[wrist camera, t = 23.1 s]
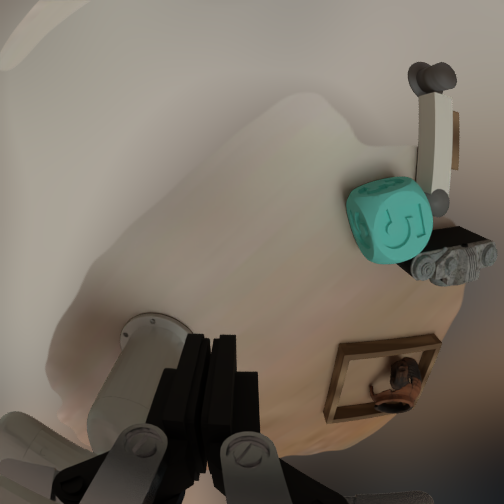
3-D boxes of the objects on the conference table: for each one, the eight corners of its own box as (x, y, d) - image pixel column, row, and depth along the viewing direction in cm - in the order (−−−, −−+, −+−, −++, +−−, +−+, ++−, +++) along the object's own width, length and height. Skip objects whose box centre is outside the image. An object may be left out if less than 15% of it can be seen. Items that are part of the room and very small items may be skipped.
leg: (416, 95, 30) (432, 91, 26) (437, 101, 30) (453, 98, 27) (411, 209, 35) (426, 216, 31) (431, 212, 35) (447, 218, 32)
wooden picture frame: (407, 399, 47) (413, 408, 44) (323, 412, 47) (326, 423, 44) (434, 333, 42) (442, 342, 39) (339, 343, 42) (344, 355, 39)
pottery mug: (420, 375, 46) (418, 414, 40) (374, 377, 51) (369, 415, 45) (423, 342, 40) (423, 389, 34) (368, 346, 44) (363, 391, 39)
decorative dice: (406, 230, 37) (437, 247, 29) (356, 249, 37) (380, 272, 30) (393, 174, 34) (426, 180, 27) (340, 192, 35) (363, 202, 27)
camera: (384, 281, 39) (417, 315, 29) (384, 235, 37) (422, 260, 27) (461, 264, 38) (499, 289, 29) (464, 223, 36) (506, 242, 27)
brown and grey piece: (445, 168, 34) (468, 171, 29) (408, 161, 34) (429, 164, 29) (443, 70, 29) (464, 63, 24) (406, 57, 29) (425, 47, 24)
